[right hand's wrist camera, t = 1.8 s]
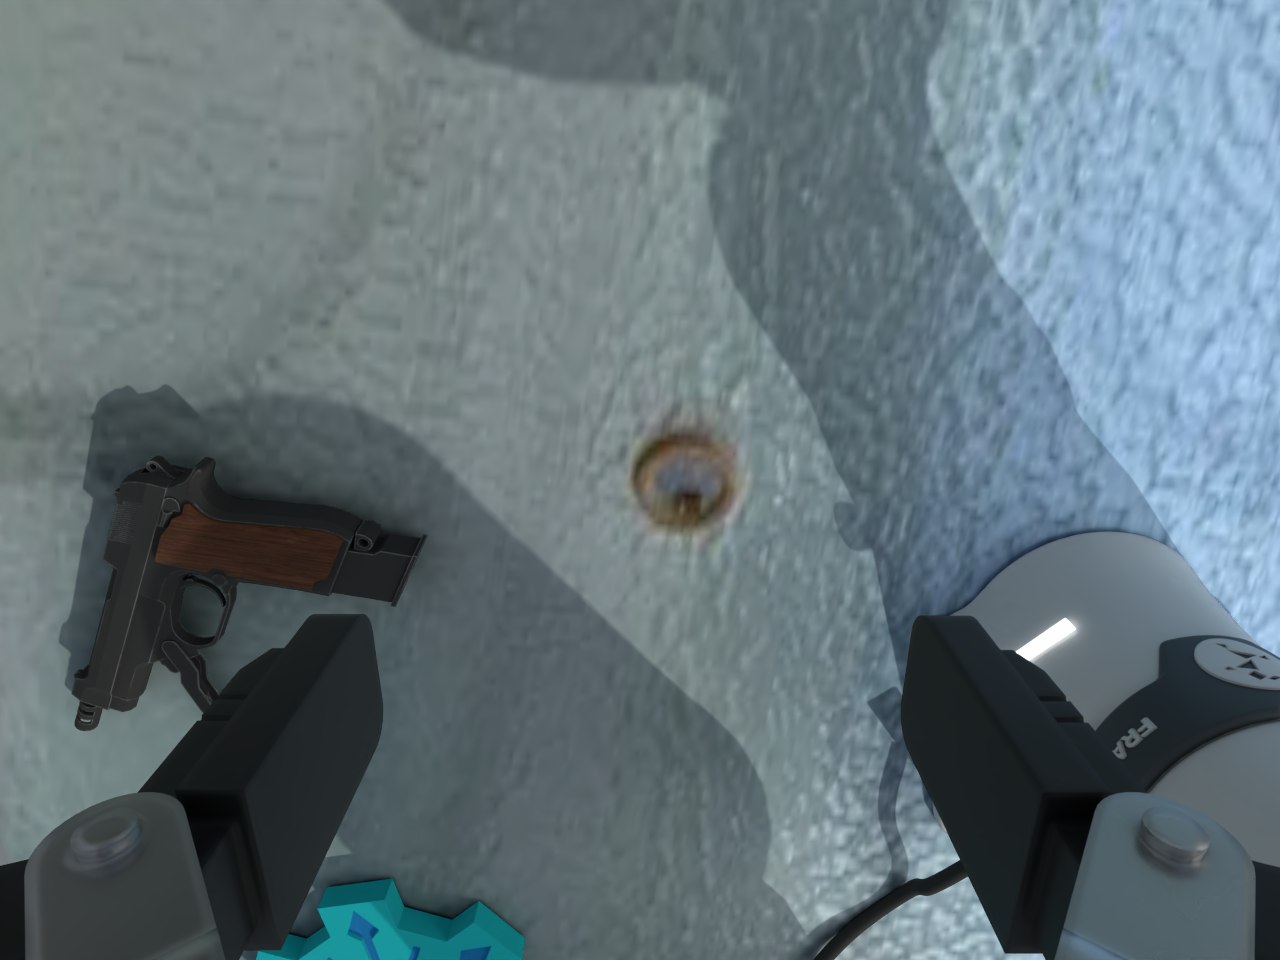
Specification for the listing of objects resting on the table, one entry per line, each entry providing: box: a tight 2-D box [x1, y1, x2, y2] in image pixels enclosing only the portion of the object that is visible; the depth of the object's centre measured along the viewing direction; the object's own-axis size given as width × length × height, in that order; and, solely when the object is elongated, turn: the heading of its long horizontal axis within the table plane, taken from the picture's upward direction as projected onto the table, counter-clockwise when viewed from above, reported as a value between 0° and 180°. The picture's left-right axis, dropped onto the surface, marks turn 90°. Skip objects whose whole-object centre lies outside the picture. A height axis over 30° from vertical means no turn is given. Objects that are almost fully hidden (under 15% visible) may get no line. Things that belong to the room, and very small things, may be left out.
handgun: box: [72, 456, 428, 731], centre depth 44 cm, size 4×21×15 cm
